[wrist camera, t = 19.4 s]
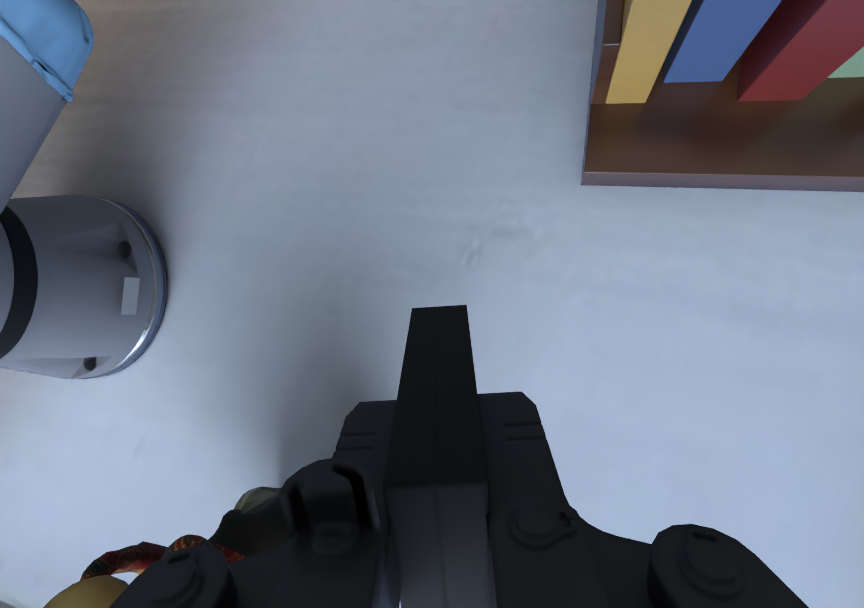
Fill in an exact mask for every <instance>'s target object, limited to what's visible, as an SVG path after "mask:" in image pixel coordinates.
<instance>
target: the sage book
mask: <svg viewBox="0 0 864 608" xmlns="http://www.w3.org/2000/svg"><path fill="white" fill-rule="evenodd" d="M845 77H864V47H863V48H862V49H860V50H859V51H858V52H857V53H856V54H854V55H853V56H852V57H851V58H850V59H849V60H847V61H846V62H845V63H844V64H843V65H841V66H840V67H839V68H838V69H837V70H836V71H834V72H833V73H832V74H831V75H830V76H828V77H827V78H845Z"/></svg>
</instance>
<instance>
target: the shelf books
mask: <svg viewBox="0 0 864 608" xmlns="http://www.w3.org/2000/svg"><path fill="white" fill-rule="evenodd" d="M691 1H692V0H625V1H624V12H623V23H622V33H621V44H620V47H619V51H618V55H617V59H616V63H615V66H614V70H613V74H612V78H611V82H610V85H609V89H608V93H607V97H606V101H605V103H606V104H617V103H645V102H646V100H647V98H648V96H649V94H650V91H651V89H652V87H653V85H654V83H655V80H656V78H657V76H658V74H659V72H660V69H661V67H662V65H663V63H664V61H665V58H666V56H667V54H668V52H669V50H670V47H671V45H672V43H673V41H674V39H675V37H676V34H677V32H678V30H679V28H680V26H681V23H682V21H683V19H684V17H685V15H686V12H687V10H688V8H689V6H690V4H691ZM863 47H864V0H782V1H781V2H780V4H779V5H778V6H777V8H776V9H775V10H774V12H773V13H772V15H771V16H770V17H769V19H768V20H767V21H766V23H765V24H764V25H763V27H762V28H761V29H760V31H759V32H758V33H757V35H756V36H755V37H754V39H753V40H752V41H751V43H750V44H749V45H748V47H747V48H746V49H745V51H744V52H743V53H742V55H741V64H740V74H739V85H738V95H737V101H793V100H801V99H802V98H804V97H805V96H806V95H807V94H808V93H809V92H811V91H812V90H813V89H814V88H815V87H817V86H818V85H819V84H820V83H821V82H822V81H824V80H825V79H826V78H827V77H828V76H830V75H831V74H832V73H833V72H834V71H836V70H837V69H838V68H839V67H840V66H841V65H843V64H844V63H845V62H846V61H847V60H849V59H850V58H851V57H852V56H853V55H854V54H856V53H857V52H858V51H859V50H860V49H862V48H863Z"/></svg>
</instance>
